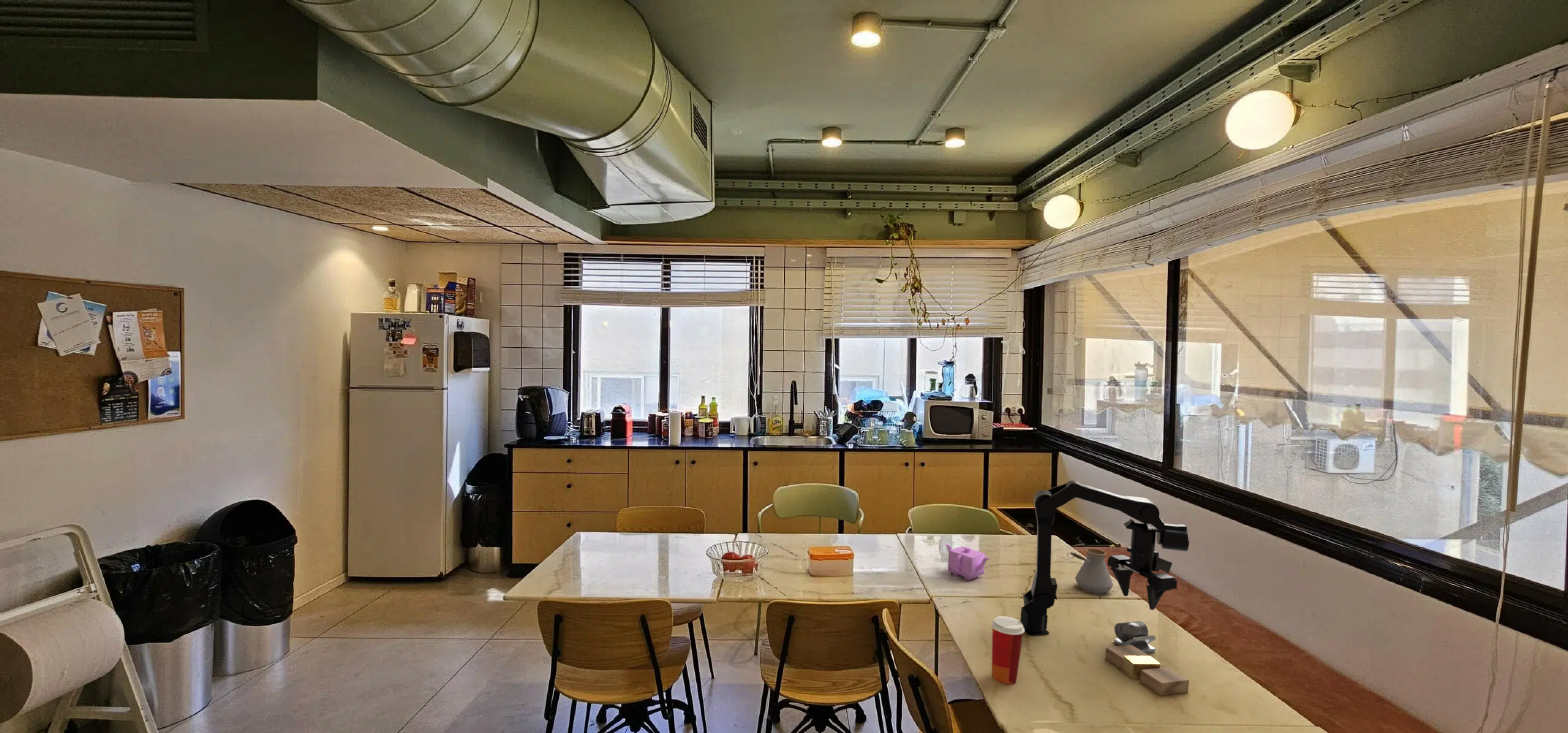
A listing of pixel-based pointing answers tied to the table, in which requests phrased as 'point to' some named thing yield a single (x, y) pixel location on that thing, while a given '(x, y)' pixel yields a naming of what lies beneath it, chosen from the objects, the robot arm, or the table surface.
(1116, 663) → the beam
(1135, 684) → the table surface
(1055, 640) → the table surface
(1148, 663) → the block
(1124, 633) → the dark grey rounded block
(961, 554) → the teapot
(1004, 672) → the paper cup
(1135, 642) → the v block
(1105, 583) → the coffee pot
